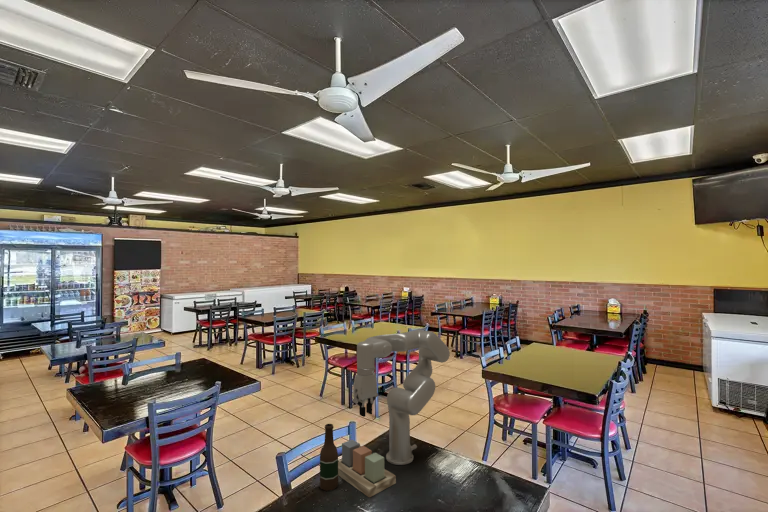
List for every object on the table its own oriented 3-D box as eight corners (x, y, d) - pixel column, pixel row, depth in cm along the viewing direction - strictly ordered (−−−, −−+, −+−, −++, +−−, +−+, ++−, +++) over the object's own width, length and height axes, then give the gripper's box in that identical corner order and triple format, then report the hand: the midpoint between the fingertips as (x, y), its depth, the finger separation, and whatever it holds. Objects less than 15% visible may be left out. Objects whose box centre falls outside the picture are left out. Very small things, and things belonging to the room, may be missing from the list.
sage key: (375, 472, 150) (375, 452, 151) (384, 477, 146) (384, 457, 146) (364, 477, 146) (364, 457, 147) (373, 483, 142) (373, 462, 143)
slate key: (352, 457, 162) (352, 439, 162) (359, 462, 158) (359, 443, 158) (341, 462, 158) (341, 443, 159) (349, 467, 154) (349, 448, 155)
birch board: (356, 459, 166) (356, 452, 166) (395, 483, 147) (395, 475, 147) (331, 470, 157) (331, 463, 157) (369, 497, 138) (369, 489, 138)
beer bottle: (334, 492, 141) (335, 429, 142) (316, 490, 143) (316, 428, 144) (341, 481, 149) (341, 421, 150) (323, 479, 150) (323, 420, 151)
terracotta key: (363, 464, 156) (363, 445, 156) (371, 469, 152) (371, 450, 152) (353, 469, 152) (353, 450, 153) (361, 474, 148) (361, 454, 149)
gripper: (374, 366, 164) (374, 407, 163) (345, 372, 153) (345, 417, 152) (385, 369, 158) (385, 412, 157) (355, 376, 147) (356, 422, 146)
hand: (365, 414), depth 155 cm, fingers open, 3 cm apart
